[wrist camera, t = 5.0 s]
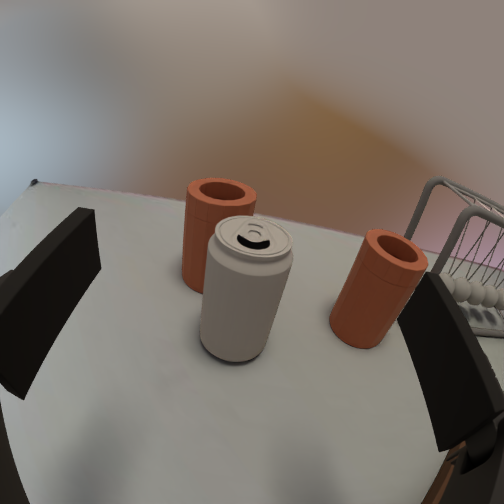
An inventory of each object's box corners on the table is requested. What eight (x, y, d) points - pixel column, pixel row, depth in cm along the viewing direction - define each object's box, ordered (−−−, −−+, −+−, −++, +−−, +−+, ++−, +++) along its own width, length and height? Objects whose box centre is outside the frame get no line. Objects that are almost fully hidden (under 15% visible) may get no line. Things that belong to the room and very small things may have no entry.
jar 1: (251, 282, 35) (270, 198, 29) (203, 303, 31) (214, 211, 25) (217, 252, 39) (228, 174, 33) (171, 267, 35) (175, 182, 29)
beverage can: (194, 359, 24) (202, 249, 18) (205, 310, 30) (217, 206, 23) (264, 370, 25) (302, 266, 18) (265, 320, 30) (294, 220, 24)
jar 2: (390, 328, 32) (434, 256, 26) (365, 359, 28) (417, 279, 21) (348, 297, 36) (382, 223, 30) (317, 321, 31) (354, 238, 25)
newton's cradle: (497, 302, 41) (539, 227, 31) (518, 339, 32) (571, 259, 23) (382, 277, 41) (429, 170, 31) (399, 327, 32) (469, 202, 23)
